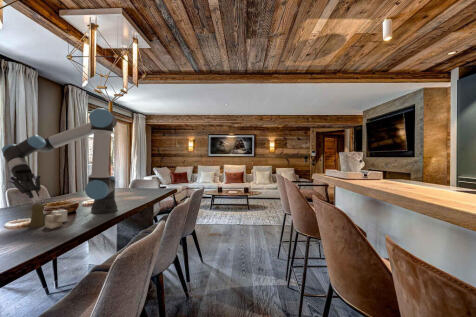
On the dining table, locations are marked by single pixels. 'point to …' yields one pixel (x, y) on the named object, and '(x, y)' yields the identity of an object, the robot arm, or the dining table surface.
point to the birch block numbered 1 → (53, 220)
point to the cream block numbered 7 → (64, 212)
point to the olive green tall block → (37, 216)
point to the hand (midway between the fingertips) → (37, 202)
